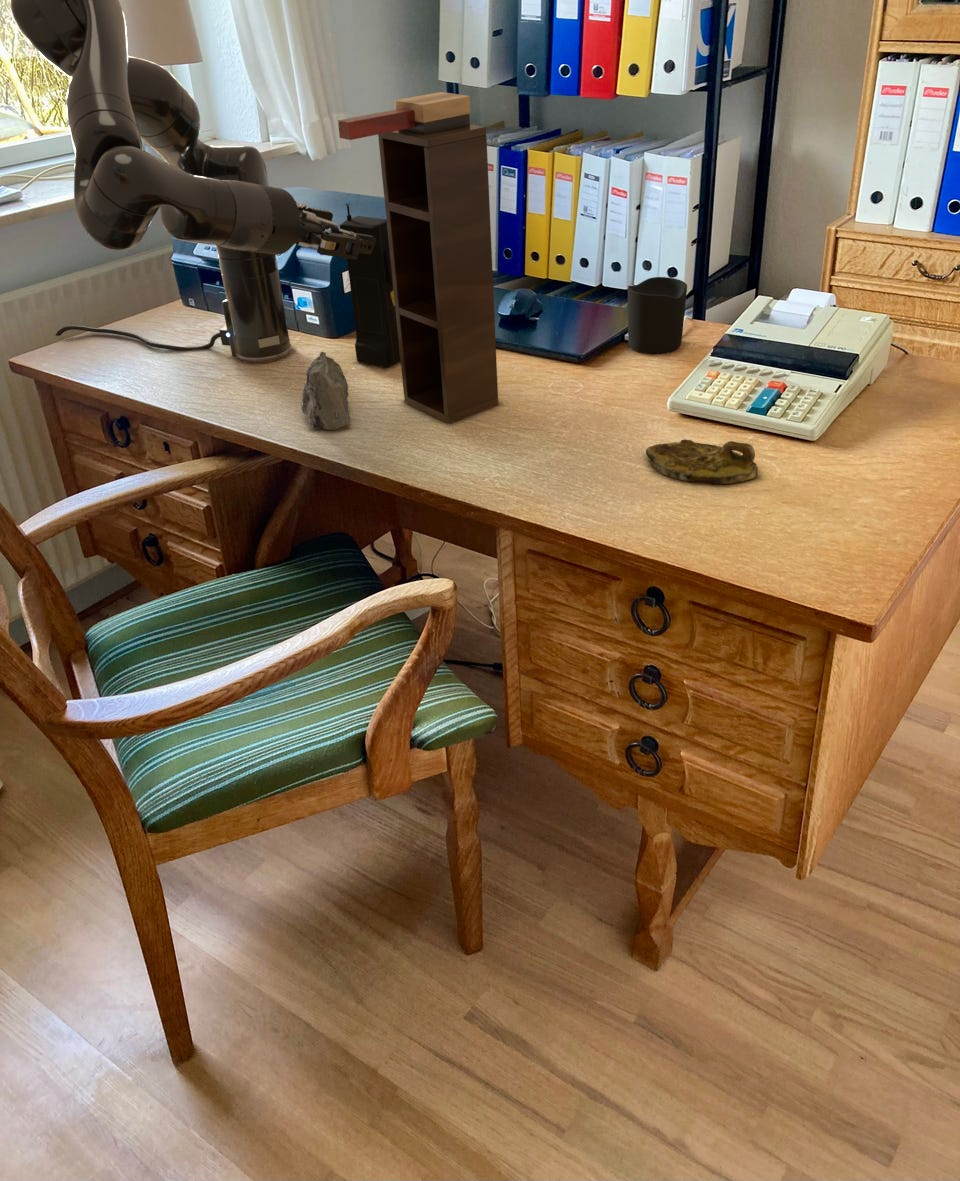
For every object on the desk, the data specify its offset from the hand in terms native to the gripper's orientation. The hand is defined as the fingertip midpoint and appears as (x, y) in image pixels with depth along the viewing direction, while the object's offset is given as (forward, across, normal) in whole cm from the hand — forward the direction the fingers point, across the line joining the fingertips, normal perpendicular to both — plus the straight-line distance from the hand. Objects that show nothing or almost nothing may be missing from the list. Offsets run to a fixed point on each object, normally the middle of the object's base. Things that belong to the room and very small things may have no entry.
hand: (351, 232), depth 131 cm
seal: (+26, +46, -11) cm, 54 cm away
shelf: (+23, +7, -21) cm, 32 cm away
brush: (+6, -2, +13) cm, 14 cm away
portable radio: (+30, -14, -24) cm, 41 cm away
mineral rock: (+11, -4, -28) cm, 31 cm away
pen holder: (+58, +16, -7) cm, 60 cm away
